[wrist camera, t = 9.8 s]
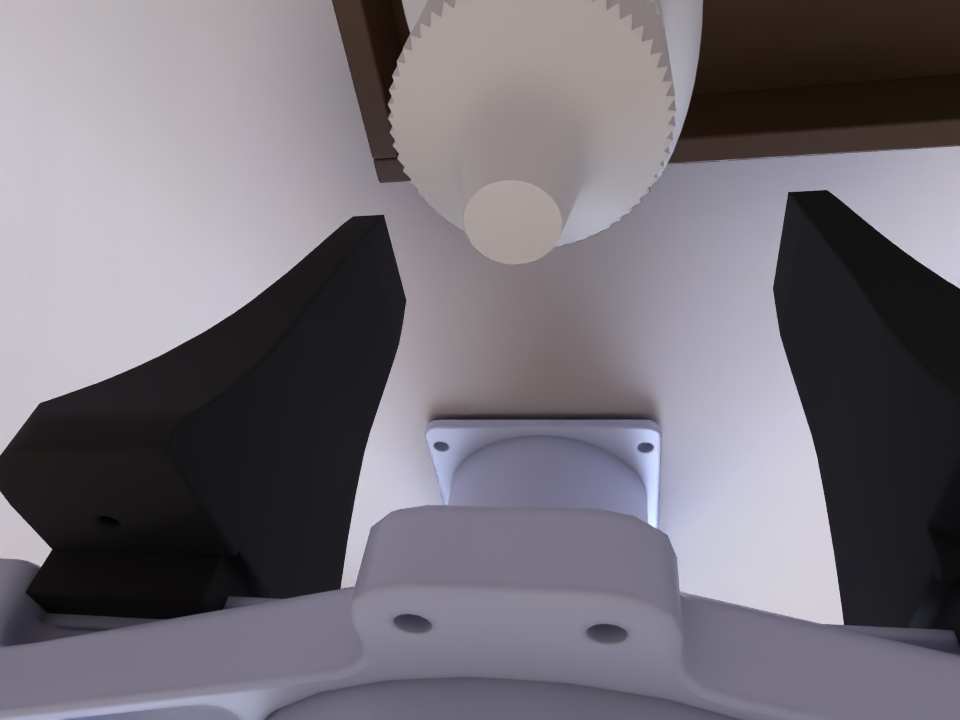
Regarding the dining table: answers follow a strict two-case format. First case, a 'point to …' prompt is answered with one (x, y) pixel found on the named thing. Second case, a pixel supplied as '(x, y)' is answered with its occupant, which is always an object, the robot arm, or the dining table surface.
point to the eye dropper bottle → (541, 112)
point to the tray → (752, 77)
